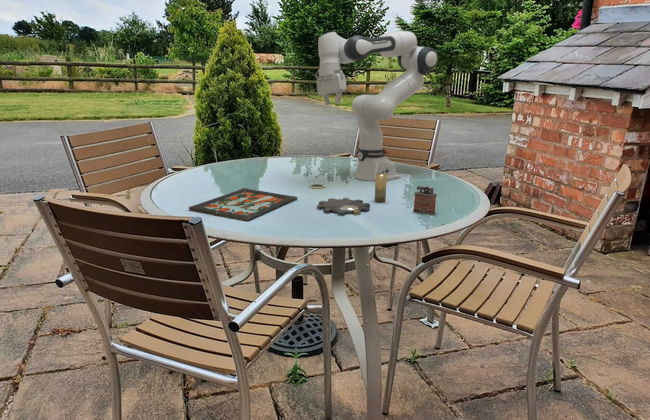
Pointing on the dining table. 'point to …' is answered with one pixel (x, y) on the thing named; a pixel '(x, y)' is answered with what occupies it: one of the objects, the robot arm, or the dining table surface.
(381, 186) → the pin
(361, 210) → the sprocket plate
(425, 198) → the lighter
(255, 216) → the painting
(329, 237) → the dining table surface
